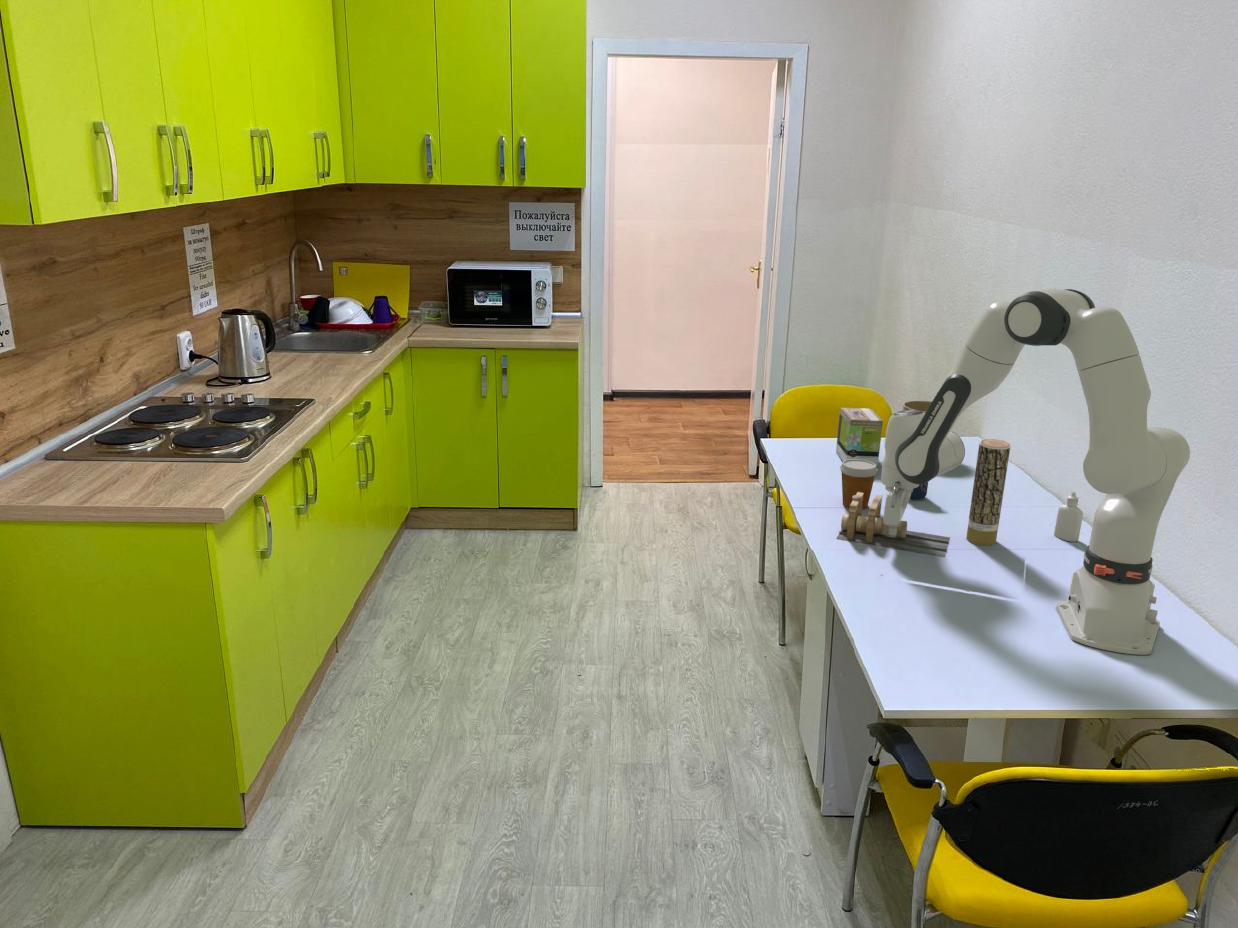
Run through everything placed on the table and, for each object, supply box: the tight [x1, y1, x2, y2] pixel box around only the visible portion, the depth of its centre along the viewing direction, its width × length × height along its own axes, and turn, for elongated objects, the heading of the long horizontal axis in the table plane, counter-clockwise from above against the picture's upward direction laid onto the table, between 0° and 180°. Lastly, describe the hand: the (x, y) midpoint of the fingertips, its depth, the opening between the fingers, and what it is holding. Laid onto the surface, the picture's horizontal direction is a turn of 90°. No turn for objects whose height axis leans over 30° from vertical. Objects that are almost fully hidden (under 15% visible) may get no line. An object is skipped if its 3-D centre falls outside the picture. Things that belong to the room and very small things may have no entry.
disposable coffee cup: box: [839, 459, 878, 510], centre depth 250 cm, size 10×10×12 cm
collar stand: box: [835, 492, 951, 558], centre depth 229 cm, size 13×25×10 cm, turn 67°
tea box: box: [835, 407, 884, 468], centre depth 289 cm, size 15×10×15 cm, turn 179°
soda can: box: [909, 481, 929, 501], centre depth 258 cm, size 7×7×12 cm
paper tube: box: [965, 438, 1011, 547], centre depth 227 cm, size 7×7×25 cm
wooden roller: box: [840, 513, 908, 538], centre depth 232 cm, size 15×4×4 cm, turn 67°
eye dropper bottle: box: [1053, 491, 1084, 543], centre depth 232 cm, size 4×6×12 cm
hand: (894, 530), depth 230 cm, fingers closed on wooden roller, 4 cm apart
